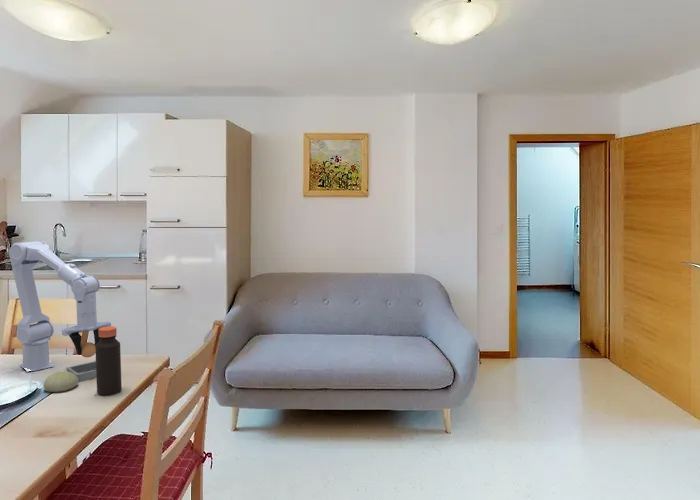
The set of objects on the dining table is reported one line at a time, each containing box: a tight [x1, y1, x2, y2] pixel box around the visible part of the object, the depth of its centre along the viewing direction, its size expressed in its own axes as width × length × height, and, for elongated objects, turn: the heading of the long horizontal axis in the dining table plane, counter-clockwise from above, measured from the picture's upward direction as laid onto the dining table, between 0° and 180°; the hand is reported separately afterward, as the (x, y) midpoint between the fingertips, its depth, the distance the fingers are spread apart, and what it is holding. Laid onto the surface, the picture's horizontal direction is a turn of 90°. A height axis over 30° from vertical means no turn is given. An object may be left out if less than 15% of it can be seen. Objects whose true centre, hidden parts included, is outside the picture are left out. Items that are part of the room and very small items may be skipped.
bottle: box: [95, 325, 123, 397], centre depth 144 cm, size 7×7×20 cm
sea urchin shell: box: [42, 370, 79, 393], centre depth 147 cm, size 9×8×8 cm
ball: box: [80, 341, 96, 358], centre depth 158 cm, size 5×5×5 cm
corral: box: [65, 360, 97, 383], centre depth 158 cm, size 10×11×2 cm
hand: (88, 352), depth 158 cm, fingers closed on ball, 5 cm apart
